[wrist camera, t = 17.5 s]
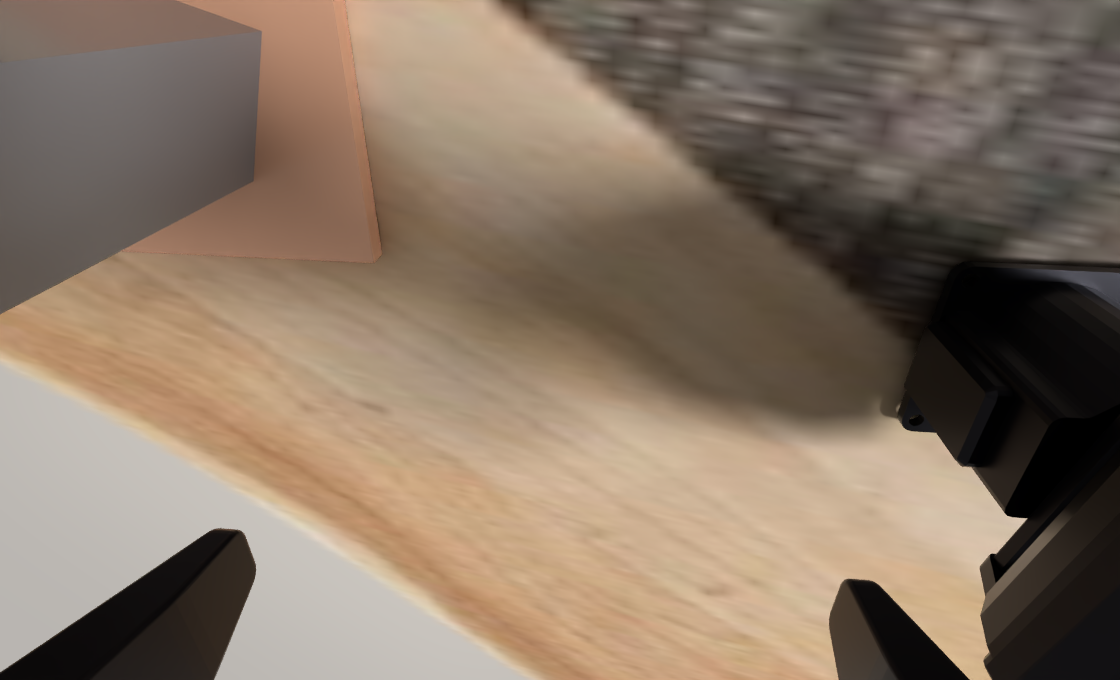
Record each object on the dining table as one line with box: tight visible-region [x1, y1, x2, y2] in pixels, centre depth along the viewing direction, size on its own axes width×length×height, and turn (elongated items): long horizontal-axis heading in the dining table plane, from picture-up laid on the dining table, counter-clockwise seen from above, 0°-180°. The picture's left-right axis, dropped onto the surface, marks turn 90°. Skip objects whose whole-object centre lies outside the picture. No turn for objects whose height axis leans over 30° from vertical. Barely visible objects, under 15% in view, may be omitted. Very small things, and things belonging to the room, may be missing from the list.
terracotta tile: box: [122, 0, 382, 263], centre depth 18 cm, size 10×11×1 cm
